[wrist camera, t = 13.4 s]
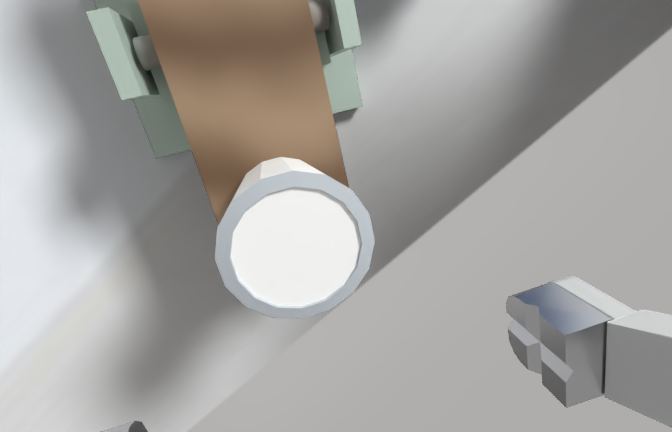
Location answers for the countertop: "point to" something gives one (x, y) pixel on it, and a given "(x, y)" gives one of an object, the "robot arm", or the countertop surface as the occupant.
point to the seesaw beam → (244, 85)
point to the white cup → (293, 240)
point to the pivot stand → (152, 88)
